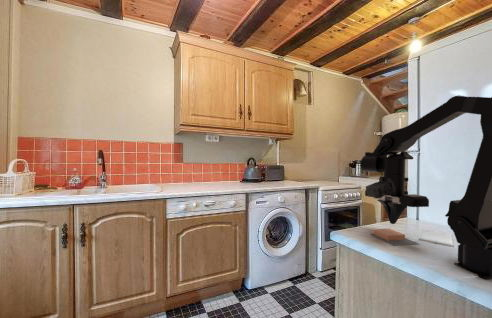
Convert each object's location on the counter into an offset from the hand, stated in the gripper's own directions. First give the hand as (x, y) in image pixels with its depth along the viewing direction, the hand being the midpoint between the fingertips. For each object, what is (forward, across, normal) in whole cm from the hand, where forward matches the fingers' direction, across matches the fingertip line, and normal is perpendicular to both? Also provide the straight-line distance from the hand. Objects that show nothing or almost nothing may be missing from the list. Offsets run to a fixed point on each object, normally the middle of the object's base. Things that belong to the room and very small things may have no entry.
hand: (392, 223), depth 72 cm
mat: (+5, 0, 0) cm, 5 cm away
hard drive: (+6, +2, +14) cm, 16 cm away
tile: (+4, +2, 0) cm, 4 cm away
